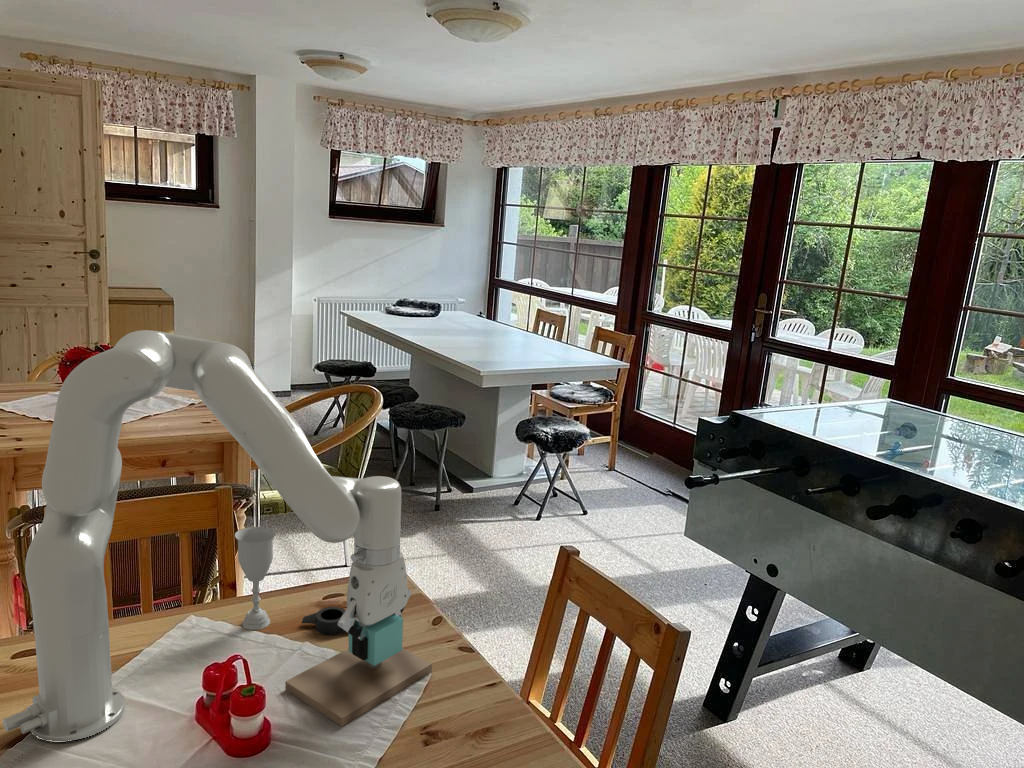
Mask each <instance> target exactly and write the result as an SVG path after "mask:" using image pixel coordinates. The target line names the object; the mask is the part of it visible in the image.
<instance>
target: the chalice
mask: <svg viewBox="0 0 1024 768" xmlns="http://www.w3.org/2000/svg"><path fill="white" fill-rule="evenodd" d="M275 536H276V531H275V530H274V529H272V528H270V527H264V526H249V527H245V528H242V529H239V530H238V531H236V532H235V533H234V537H235V539H236V540H237V561H238V564H239V566H240V568H241V570H242V572H243V573H244V576H245V577H246V579H247V580H248V581H249V582H252V584H253V585H252V589H251V590H250V591H251V592H252V594H253V596H252V598H251V599H250V601H251V602H252V604H253V606H252V608H250V609H249V610H248V612H247V613H245V616H244V618H243V621H242V624H241V625H242V628H244V629H246V630H250V631H259V630H262V629H265V628H267V627H268V626H269V625H270V624H271V619H270V618H269V615H268V614H267V611H266V610H265V609H263V608H261V607H260V605H259V604H260V602H261V600H262V598H261V597H260V595H259V594H260V592H261V588H260V585H259V584H260V583H259V582H261V581H264V579H265V577H266V575H267V573H268V571H269V570H270V568H271V564H272V561H273V558H274V554H273V553H274V552H273V551H274V549H273V548H274V547H273V546H274V545H273V544H274V543H273V541H274V539H275Z"/></svg>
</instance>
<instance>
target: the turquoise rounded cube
mask: <svg viewBox="0 0 1024 768" xmlns="http://www.w3.org/2000/svg"><path fill="white" fill-rule="evenodd" d="M352 620H353V619H352ZM351 623H352V621H351ZM403 624H404V619H403V617H402V618H401V617H399V616H397V615H395V614H392V615H390V616H388V617H386V618H384V619H382V620H380V621H379V622H377V623H375V624H372V625H370V626H368V629H367V632H366V635H365V637H366V638H368V648H367V659H366V660H365V661H366V662H368V663H370V664H372V665H373V666H375V665H377V664H379V663H380V662H382V661H384V660H386V659H387V658H389V657H391V656H393V655H395V654H396V653H398V652H400V651H402V648H403V633H404V632H403V629H404V627H403V626H404V625H403ZM360 628H361V623H360V622H359V624H358V627H357V629H358V630H360ZM348 648H349V652H350V653H352V635H350V634H349V633H348Z"/></svg>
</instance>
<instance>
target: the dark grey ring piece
mask: <svg viewBox="0 0 1024 768" xmlns="http://www.w3.org/2000/svg"><path fill="white" fill-rule="evenodd" d="M345 611H346V609H345V608H343V607H339V606H326V607H324V608H321V609H319V610H318V611H316V612H313V613H311V614H308V615H306V616H305V615H304V617H303V618H302V620H301V624H311V625H312V624H313V625H315V630H316V632H317V633H318V634H320V635H322V636H323V635H324V636H337V635H340V634H342V633H344V632H346V631H345V630H343V629H342V628H340V627H339V626H338V622H339V620H340V619H341V617H342V615H343V614H344V612H345Z"/></svg>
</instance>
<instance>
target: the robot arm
mask: <svg viewBox="0 0 1024 768" xmlns="http://www.w3.org/2000/svg"><path fill="white" fill-rule="evenodd" d="M250 360H251V359H250V357H248V354H247V353H246V352H245V351H243V350H242V349H241V348H240V347H238V346H236V345H234V344H232V343H227V342H221V341H216V340H212V339H211V340H209V339H206V338H205V339H204V338H197V337H192V336H187V335H182V334H176V333H175V334H174V333H169V332H165V331H159V330H149V329H144V330H143V329H142V330H135V331H132V332H129V333H127V334H125V335H124V336H122V337H121V338H120V339H119V340H118V341H117V342H116V344H115V345H114V347H112V348H110V349H107V350H105V351H103V352H100V353H97V354H95V355H94V354H93V356H91V357H88V358H87V359H85V360H83V361H82V362H81V363H80V364H78V365H77V366H76V367H74V368H73V370H71V372H70V373H69V374H68V375H67V377H66V378H64V381H63V383H62V385H61V387H60V390H59V393H58V397H57V401H56V406H55V412H54V417H53V422H52V427H51V431H50V437H49V441H48V450H47V454H46V460H45V465H44V469H43V471H42V477H41V488H42V489H41V490H42V495H43V497H44V499H45V501H46V504H45V511H44V516H43V520H42V522H41V524H40V526H39V528H38V529H37V531H36V533H35V535H34V537H33V539H32V540H31V542H30V545H29V547H28V549H27V552H26V557H25V562H24V563H25V564H24V571H25V580H26V585H27V589H28V594H29V597H30V605H31V611H32V612H31V614H32V622H33V623H32V625H33V632H34V641H35V643H34V644H35V655H36V666H37V677H38V678H37V679H38V690H39V693H38V694H37V695H34V696H32V704H31V705H29V706H26V708H25V710H23V711H20V712H18V713H15V714H12V715H10V716H7V717H6V718H3V719H2V727H3V728H4V731H5V732H6V733H7V732H8V733H9V732H11V731H13V730H15V729H17V728H19V729H20V732H21V733H22V734H23V735H24V734H26V733H28V732H30V733H31V732H32V733H33V734H34V735H35V736H38V737H39V738H42V739H44V740H52V741H68V740H69V741H70V740H76V739H81V738H85V739H87V738H86V737H88V738H90V737H89V736H91V737H93V736H92V735H94V736H96V735H97V734H96V733H98V734H100V733H102V732H103V730H104V731H105V730H106V728H107V729H108V728H110V727H111V726H112V725H114V724H115V723H117V722H118V720H119V719H120V718H119V717H121V716H122V715H123V713H124V711H125V697H124V695H123V694H122V692H120V690H118V689H116V688H113V678H112V663H111V662H112V660H111V659H112V658H111V644H110V642H111V641H110V628H109V627H110V626H109V624H110V623H109V612H108V611H109V610H108V597H107V587H106V580H105V571H104V565H105V563H104V562H105V555H106V551H107V548H108V543H109V540H110V536H111V534H112V529H113V523H114V517H115V512H116V505H117V500H118V499H117V498H118V493H119V486H120V482H121V481H120V480H121V475H122V468H123V459H122V454H121V451H120V449H119V447H118V445H119V439H120V435H121V432H122V425H123V417H124V414H125V413H126V411H127V410H128V408H130V407H131V406H133V405H134V404H136V403H138V402H142V401H144V400H147V399H150V398H151V397H153V396H156V395H157V394H159V393H160V392H161V391H162V390H164V388H172V389H179V390H184V391H185V390H186V391H192V392H195V393H196V394H197V396H198V398H199V399H200V401H201V402H203V404H204V405H205V406H206V408H207V409H208V410H209V411H210V412H211V413H212V414H213V415H214V417H215V418H216V419H217V420H218V421H219V422H220V423H221V424H222V425H223V427H224V428H225V429H226V430H227V431H228V432H229V433H230V435H231V436H232V437H233V438H234V439H235V440H236V442H238V444H239V446H241V447H242V448H243V450H245V452H246V453H247V454H248V455H249V456H250V457H251V459H252V461H254V463H255V464H256V466H257V468H258V469H259V470H260V471H261V473H262V475H264V476H265V478H266V479H267V480H268V481H269V482H270V484H271V485H272V486H273V487H274V489H275V490H276V491H277V492H278V494H279V495H280V497H281V498H282V500H284V502H285V503H286V504H287V506H288V507H289V509H291V511H293V513H294V514H295V515H296V516H297V517H298V519H300V520H301V522H302V523H303V524H304V525H305V526H306V527H307V528H308V530H309V531H310V532H311V533H312V534H313V535H314V536H315V537H317V538H318V539H319V540H321V541H323V542H326V543H331V544H336V543H337V544H338V543H342V542H345V541H348V540H349V539H350V538H352V536H353V537H354V539H353V543H354V545H353V547H354V548H353V549H354V550H353V553H352V554H351V555H350V560H351V565H350V570H349V575H348V583H347V593H346V609H345V610H346V611H345V612H344V614H343V615H342V617H341V619H340V620H339V622H338V626H339V627H340V628H342V629H343V630H345V631H344V632H346V633H348V635H349V634H350V635H352V654H353V655H355V656H356V657H358V658H360V659H362V660H363V661H365V660H366V659H367V648H368V638H366V637H365V635H366V632H367V629H368V626H370V625H372V624H375V623H377V622H379V621H380V620H382V619H384V618H386V617H388V616H390V615H392V614H395V615H397V616H399V617H401V618H403V614H402V613H403V612H404V610H405V608H406V607H407V604H408V602H409V599H410V598H411V595H412V593H413V592H412V590H411V589H409V588H408V577H407V576H408V575H407V568H406V567H407V566H406V561H405V558H404V554H403V553H402V552H401V527H402V526H401V523H402V522H401V521H402V520H401V518H402V487H401V485H400V482H399V481H398V480H396V479H394V478H392V477H389V476H382V475H378V476H377V475H376V476H375V475H374V476H367V477H364V478H358V477H346V476H336V475H335V476H334V475H331V474H330V473H329V472H328V470H327V469H326V468H325V467H324V465H323V464H322V462H321V460H320V459H319V458H318V456H317V455H316V453H315V451H314V450H313V447H312V446H311V444H310V441H309V440H308V437H307V435H306V434H305V432H304V431H303V429H302V428H301V426H300V424H299V423H298V421H297V419H295V418H294V416H293V415H292V414H291V413H290V412H289V411H288V410H287V408H286V407H285V406H284V405H283V403H282V402H281V401H280V400H279V399H278V398H277V396H276V395H275V394H274V393H273V392H272V391H271V389H270V388H269V387H268V386H267V384H266V383H265V382H264V381H263V380H262V378H261V377H260V375H258V373H257V372H256V371H255V370H254V369H253V367H252V362H251V361H250ZM352 619H353V620H352ZM351 621H352V623H351ZM359 622H360V623H361V628H360V630H358V629H357V627H358V624H359ZM121 714H122V715H121ZM109 726H110V727H109ZM101 731H102V732H101ZM99 732H100V733H99ZM32 733H31V734H32ZM95 734H96V735H95ZM35 736H34V737H35Z"/></svg>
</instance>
